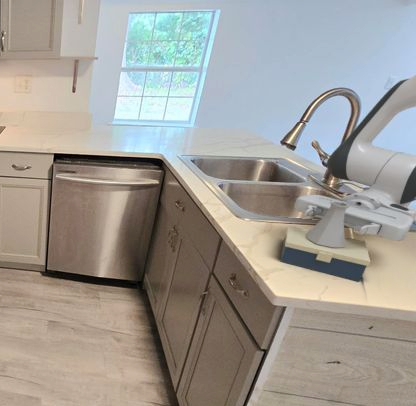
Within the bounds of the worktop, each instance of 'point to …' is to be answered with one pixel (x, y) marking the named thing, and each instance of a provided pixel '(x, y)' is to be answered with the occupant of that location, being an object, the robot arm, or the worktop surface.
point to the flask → (330, 227)
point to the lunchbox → (325, 255)
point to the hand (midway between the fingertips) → (331, 222)
